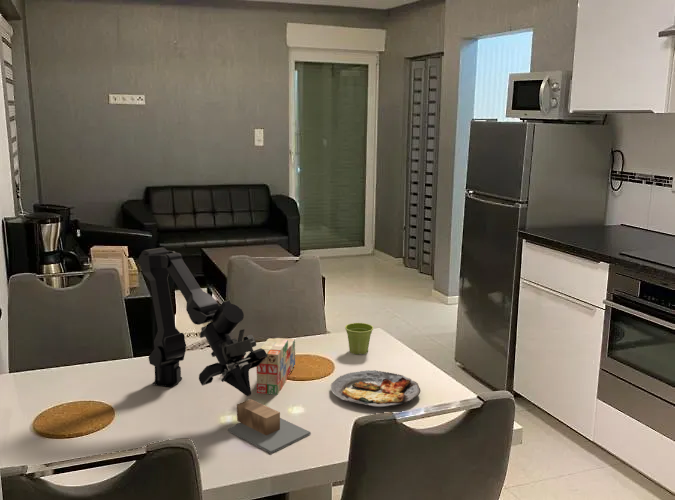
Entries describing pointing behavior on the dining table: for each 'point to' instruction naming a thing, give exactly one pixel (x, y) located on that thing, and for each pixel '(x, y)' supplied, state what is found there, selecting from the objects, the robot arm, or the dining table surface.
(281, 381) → the stack of blocks
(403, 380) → the food plate
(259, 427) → the walnut block
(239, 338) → the cocoa
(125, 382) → the dining table surface
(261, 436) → the mat
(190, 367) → the dining table surface
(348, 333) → the plant pot
